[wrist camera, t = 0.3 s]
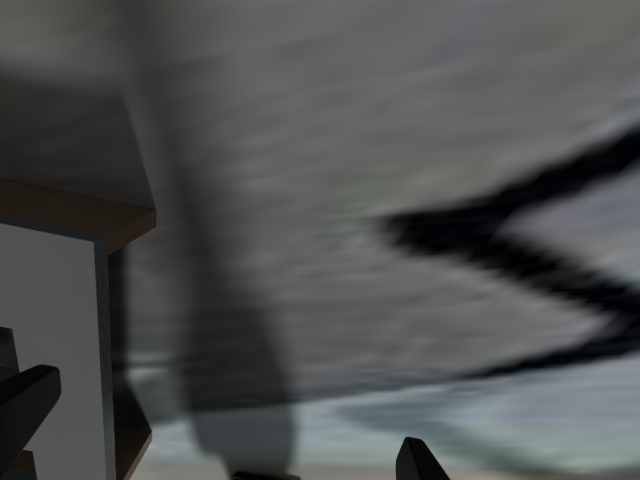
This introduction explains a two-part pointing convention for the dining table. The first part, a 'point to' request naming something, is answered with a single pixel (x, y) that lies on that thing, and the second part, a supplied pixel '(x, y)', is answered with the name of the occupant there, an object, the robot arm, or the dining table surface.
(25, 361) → the keyhole board
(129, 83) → the dining table surface
